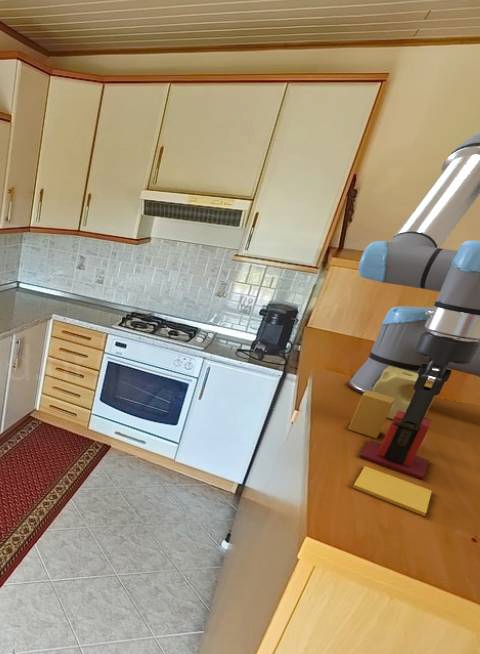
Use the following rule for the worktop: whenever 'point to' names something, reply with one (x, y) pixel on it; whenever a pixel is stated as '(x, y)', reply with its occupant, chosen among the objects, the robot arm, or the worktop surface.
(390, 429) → the red block
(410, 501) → the yellow mat
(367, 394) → the yellow block
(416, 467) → the red mat
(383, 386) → the cheese
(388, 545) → the worktop surface
